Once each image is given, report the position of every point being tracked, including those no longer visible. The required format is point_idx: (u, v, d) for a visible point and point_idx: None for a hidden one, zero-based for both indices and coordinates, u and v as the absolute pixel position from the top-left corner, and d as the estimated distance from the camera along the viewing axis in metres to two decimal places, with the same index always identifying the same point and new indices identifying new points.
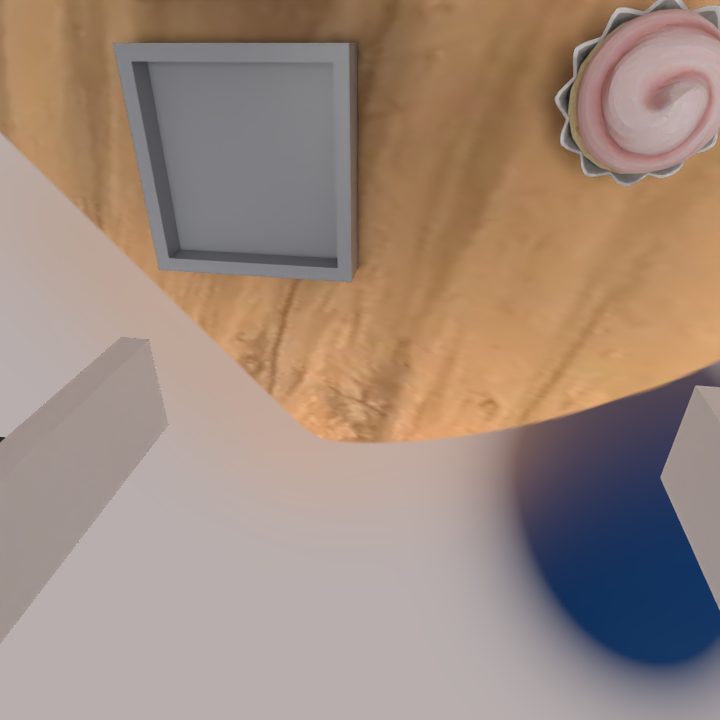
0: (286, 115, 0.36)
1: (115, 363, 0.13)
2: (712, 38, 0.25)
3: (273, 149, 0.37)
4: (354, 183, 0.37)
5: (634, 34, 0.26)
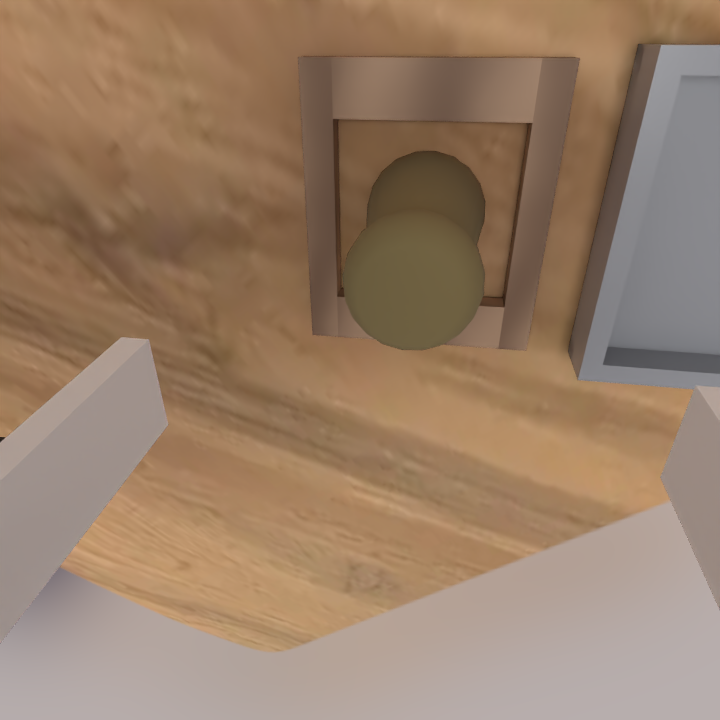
0: (717, 167, 0.24)
1: (115, 364, 0.13)
2: None
3: None
4: None
5: None
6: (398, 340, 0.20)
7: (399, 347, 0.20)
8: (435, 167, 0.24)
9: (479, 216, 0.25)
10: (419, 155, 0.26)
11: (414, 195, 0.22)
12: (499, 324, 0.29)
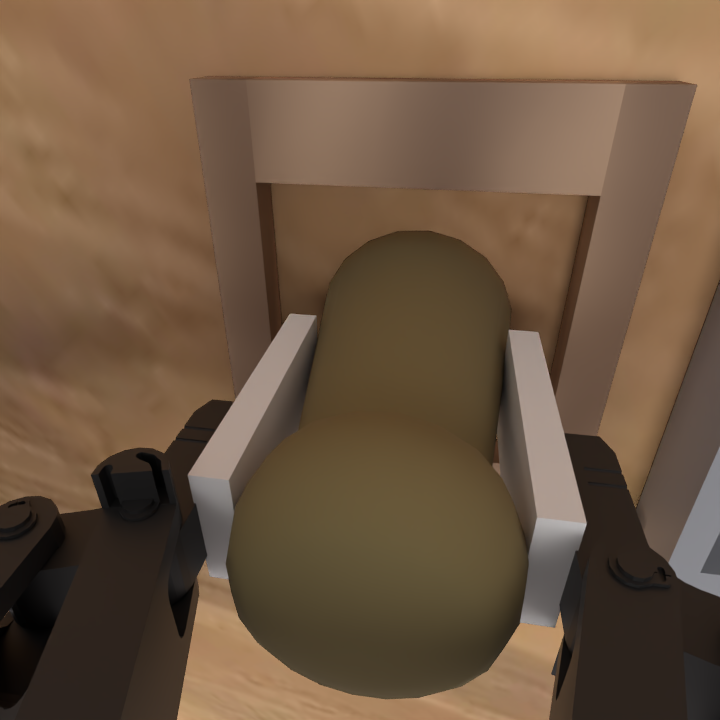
0: None
1: (298, 336, 0.14)
2: None
3: None
4: None
5: None
6: (343, 688, 0.09)
7: None
8: (429, 267, 0.14)
9: (504, 351, 0.14)
10: (403, 239, 0.16)
11: (386, 344, 0.12)
12: None
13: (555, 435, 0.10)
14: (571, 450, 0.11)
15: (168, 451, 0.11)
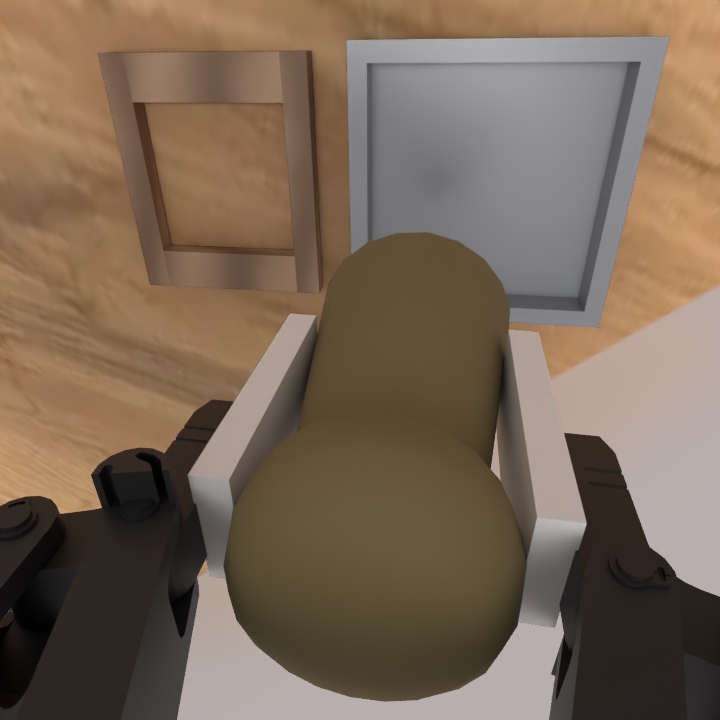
0: (428, 136, 0.30)
1: (298, 336, 0.14)
2: None
3: (465, 157, 0.30)
4: None
5: None
6: (340, 690, 0.09)
7: None
8: (427, 268, 0.14)
9: (503, 353, 0.14)
10: (401, 240, 0.16)
11: (384, 346, 0.12)
12: (293, 271, 0.35)
13: (555, 435, 0.10)
14: (572, 450, 0.11)
15: (168, 451, 0.11)
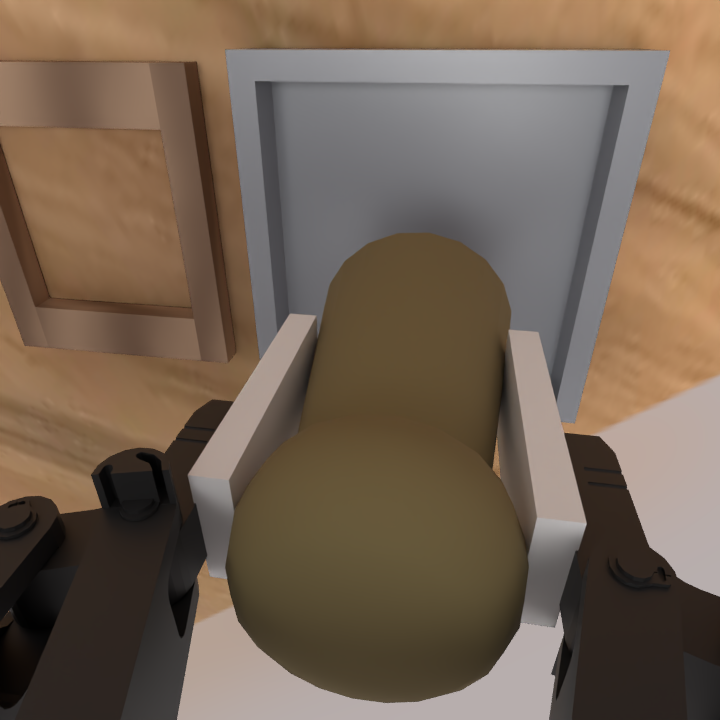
0: (350, 176, 0.23)
1: (298, 336, 0.14)
2: None
3: (400, 203, 0.23)
4: (460, 49, 0.19)
5: None
6: (342, 692, 0.09)
7: None
8: (429, 269, 0.14)
9: (504, 353, 0.14)
10: (402, 240, 0.16)
11: (385, 346, 0.12)
12: (194, 336, 0.28)
13: (555, 435, 0.10)
14: (571, 450, 0.11)
15: (168, 451, 0.11)
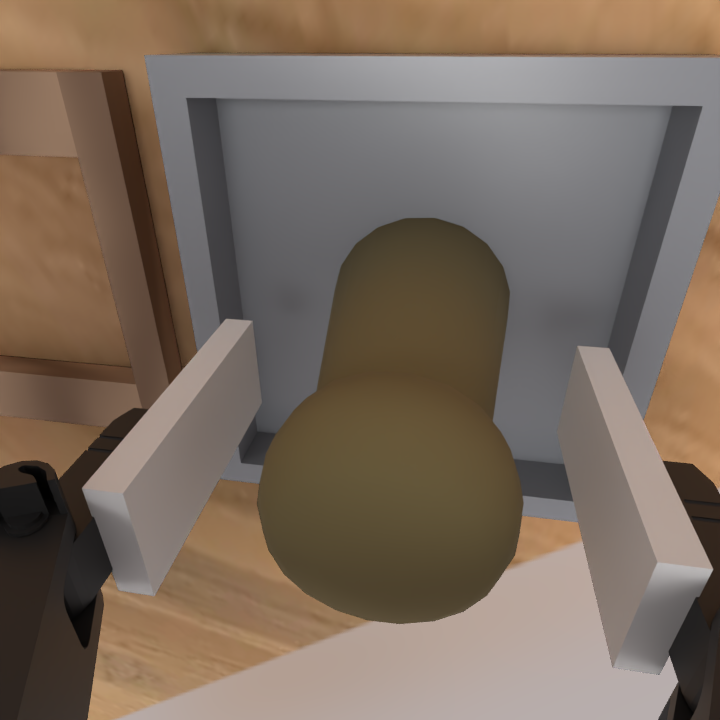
0: (322, 217, 0.18)
1: (229, 342, 0.13)
2: None
3: None
4: None
5: None
6: (359, 614, 0.10)
7: (362, 618, 0.11)
8: (435, 250, 0.15)
9: (503, 329, 0.16)
10: (410, 224, 0.17)
11: (396, 316, 0.13)
12: (138, 404, 0.23)
13: (654, 465, 0.10)
14: None
15: (78, 462, 0.11)
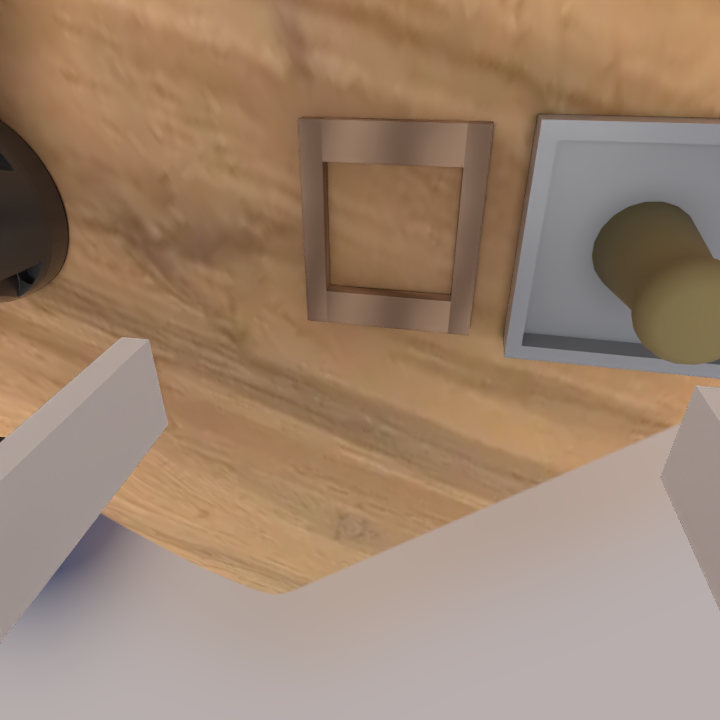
0: (597, 201, 0.33)
1: (115, 363, 0.13)
2: None
3: None
4: (698, 120, 0.29)
5: None
6: (683, 356, 0.25)
7: (680, 362, 0.26)
8: (674, 216, 0.30)
9: None
10: (651, 204, 0.32)
11: (677, 242, 0.28)
12: (447, 314, 0.38)
13: None
14: None
15: None
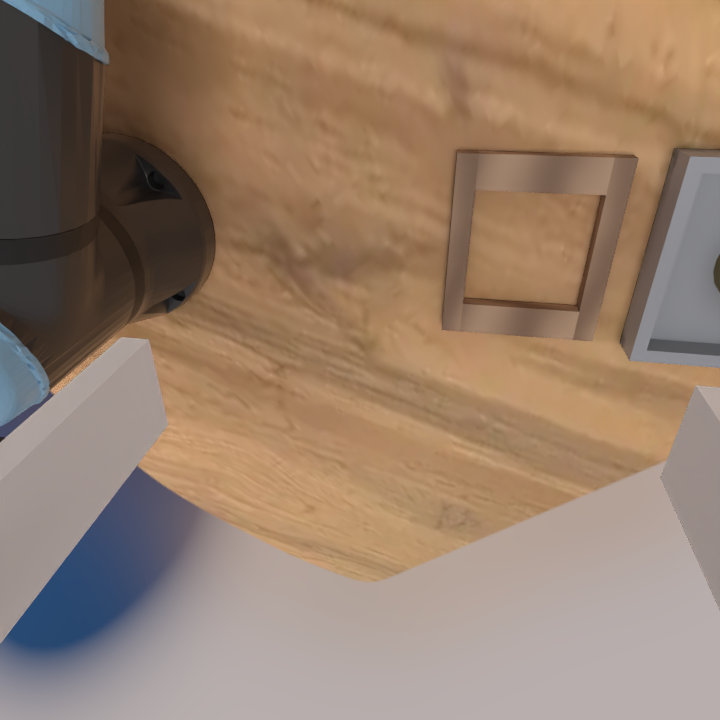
0: None
1: (115, 363, 0.13)
2: None
3: None
4: None
5: None
6: None
7: None
8: None
9: None
10: None
11: None
12: (574, 323, 0.43)
13: None
14: None
15: None
